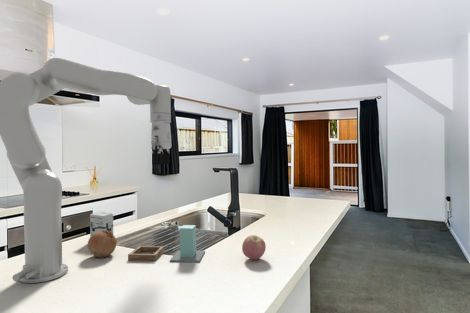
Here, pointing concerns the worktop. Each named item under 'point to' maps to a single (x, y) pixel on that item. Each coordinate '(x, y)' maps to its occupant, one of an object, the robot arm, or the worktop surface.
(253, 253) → the apple
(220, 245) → the worktop surface
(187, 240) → the part
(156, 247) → the pocket frame
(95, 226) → the ink box
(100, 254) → the onion
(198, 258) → the mat
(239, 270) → the worktop surface
